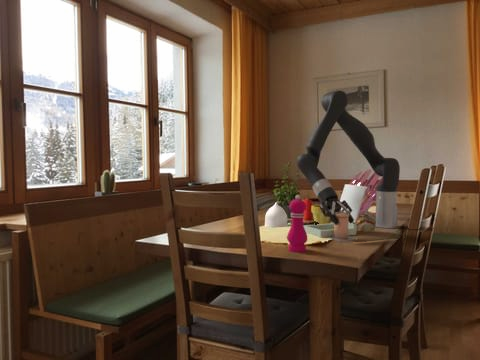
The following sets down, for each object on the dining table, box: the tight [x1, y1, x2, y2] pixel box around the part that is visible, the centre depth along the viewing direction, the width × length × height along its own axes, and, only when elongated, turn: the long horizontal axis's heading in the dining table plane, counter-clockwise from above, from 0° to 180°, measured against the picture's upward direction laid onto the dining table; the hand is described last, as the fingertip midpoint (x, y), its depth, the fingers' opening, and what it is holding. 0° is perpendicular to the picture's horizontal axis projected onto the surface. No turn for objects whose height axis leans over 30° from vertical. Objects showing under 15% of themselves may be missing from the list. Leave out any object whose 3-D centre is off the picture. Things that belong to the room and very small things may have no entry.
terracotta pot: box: [334, 212, 349, 239], centre depth 171 cm, size 6×6×10 cm
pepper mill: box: [286, 194, 308, 253], centre depth 153 cm, size 7×7×20 cm
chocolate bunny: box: [357, 210, 377, 233], centre depth 190 cm, size 6×8×10 cm
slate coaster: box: [326, 235, 359, 244], centre depth 171 cm, size 9×9×1 cm
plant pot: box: [310, 204, 331, 224], centre depth 206 cm, size 10×10×10 cm
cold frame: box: [303, 184, 367, 238], centre depth 183 cm, size 23×14×21 cm, turn 114°
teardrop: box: [264, 201, 289, 228], centre depth 205 cm, size 11×11×12 cm
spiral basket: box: [347, 168, 383, 218], centre depth 239 cm, size 28×28×27 cm
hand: (345, 222), depth 170 cm, fingers open, 8 cm apart
